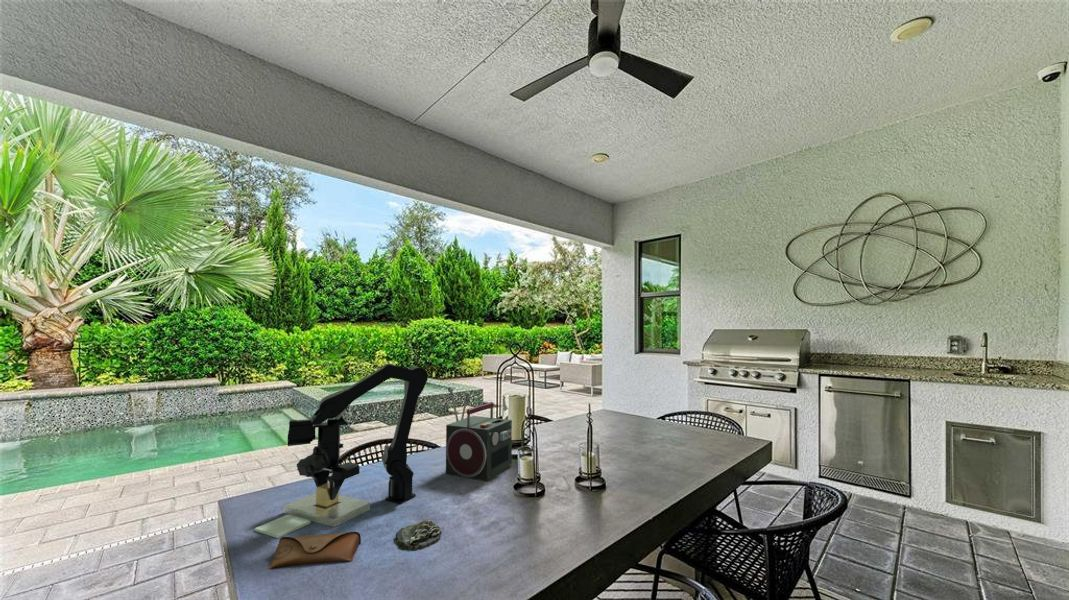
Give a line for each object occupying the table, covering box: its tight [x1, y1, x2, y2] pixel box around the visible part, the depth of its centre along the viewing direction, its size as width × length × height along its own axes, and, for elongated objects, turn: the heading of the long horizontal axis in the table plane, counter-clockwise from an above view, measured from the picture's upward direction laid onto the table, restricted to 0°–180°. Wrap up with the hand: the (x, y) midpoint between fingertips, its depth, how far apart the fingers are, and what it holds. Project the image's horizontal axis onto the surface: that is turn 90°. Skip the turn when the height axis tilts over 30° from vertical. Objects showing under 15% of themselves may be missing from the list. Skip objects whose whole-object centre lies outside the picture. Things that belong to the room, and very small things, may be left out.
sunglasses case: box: [267, 531, 362, 570], centre depth 98 cm, size 18×7×7 cm
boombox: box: [445, 386, 513, 482], centre depth 157 cm, size 18×21×30 cm
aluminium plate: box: [283, 492, 371, 528], centre depth 122 cm, size 20×12×2 cm, turn 64°
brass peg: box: [315, 481, 340, 509], centre depth 122 cm, size 4×4×7 cm
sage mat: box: [254, 514, 312, 539], centre depth 112 cm, size 9×9×1 cm
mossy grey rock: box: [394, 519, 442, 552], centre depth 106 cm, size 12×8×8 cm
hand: (327, 498), depth 122 cm, fingers closed on brass peg, 4 cm apart
